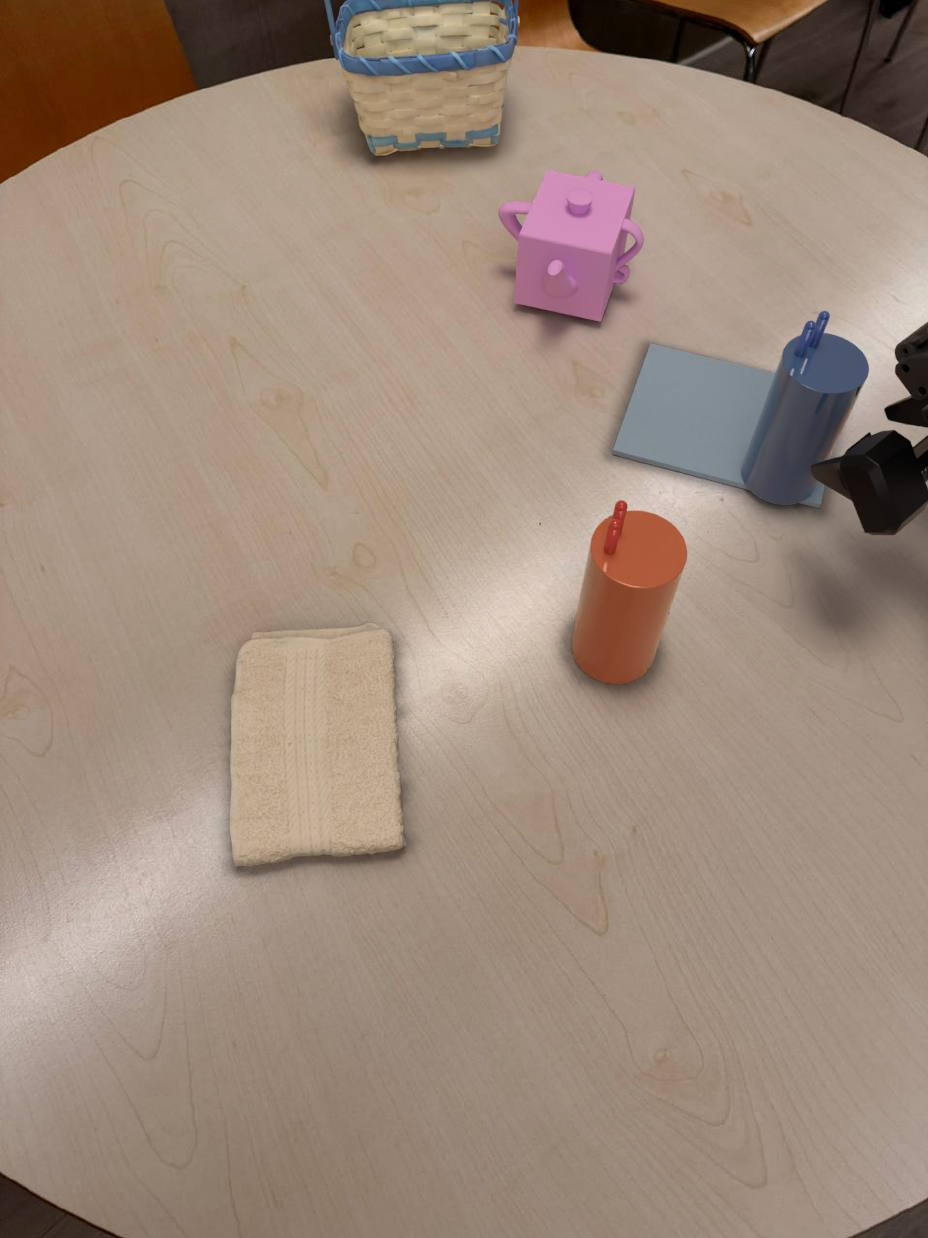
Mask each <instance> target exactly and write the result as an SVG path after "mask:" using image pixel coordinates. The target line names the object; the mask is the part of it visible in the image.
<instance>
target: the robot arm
mask: <svg viewBox="0 0 928 1238" xmlns="http://www.w3.org/2000/svg"><path fill="white" fill-rule="evenodd" d="M894 357H895V360H896V361H897V364H895V366H894V374H895V376H896V377H897V378H898V380H899V381H900V382H901V384H902V385H903V387H904V388H905V389H906V391H907V393H909V394H910V395H909V396H906V397H904V398H902V399H899V400H897V401H895V402H893V403H890V404H887V405H886V406H885V407H884V408H883V411H884V414H885V417H886V419H887V420H888V421H890V422H894V423H899V424H902V425H908V426H913V427H920V428H926V429H928V321H926V322H925V323H924V324H923V325H921V326H919V328H917V329H916V330H915V331H913V332H911V334H909V335H908V336H906V337H905V338H904V339H902V340H901V341H900V342H898V343H897V344H896V346H895V348H894ZM810 470H811V473H812V475H813V477H814V479H815V480H817V481H819V482H821V483H822V484H824V485H825V487H827V488H829V489H831V490H833V491H834V492H836V493H837V494H839V495H841V496H842V497H844V498H846V499H847V500H849V501H850V502H852V504H853V507H854V509H855V512H856V515H857V517H858V520H859V522H860V525H861V527H862V530H863V532H864V533H865V534H867V535H870V536H896V535H897V534H899V532H900V531H901V530H903V529H904V528H905V527H906V526H907V525H908V524H909V523H911V522H912V521H913V520H914V519H916V518H917V517H918V516H919V515H920V514H921V513H922V512H923V511H924V510H925V509H926V508H927V506H928V486H927V485H928V484H927V482H928V434H927V435H925V437H923V438H922V439H921V440H920V441H918V442H917V443H916V444H915V445H914V446H913V445H912V442H911V440H910V439H909V438H907V437H906V436H905V435H903V434H902V433H899V432H898V431H897V430H895V429H889V430H881V431H879V432H876V433H873V434H872V433H871V431H869V432H867V433H866V434H865V435H864V436H862V437H861V438H859V439H858V440H857V441H856V442H854V443H853V444H852V445H851V446H850V447H848V448H847V449H846V450H845V452H844V453H843V455H840V456H836V457H832V458H830V459H828V460H825V461H821V462H818V463H815V464H813V465H812V466H810Z"/></svg>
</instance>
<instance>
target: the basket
mask: <svg viewBox="0 0 928 1238" xmlns="http://www.w3.org/2000/svg"><path fill="white" fill-rule="evenodd" d="M323 1H324V5H325V10H326V16H327V20H328V21H327V22H328V26H329V31H330V35H329V39H330V45H331V46H332V49H333V54H334V60H335V61H339V64H340V68H341V72H342V75H343V77H344V78H345V79H346V85H347V88H348V89H347V90H348V92H349V95H350V97H351V99H352V100H353V105H354V109H355V112H356V114H357V119H358V125H359V128H360V130H361V131H362V133H363V134H364V137H365V140H366V144H367V147H368V149H369V151H370V153H372V154H373V155H374V156H376V157H377V156H388V155H391V154H393V153H396V152H412V151H418V149H431V148H434V149H435V148H442V147H445V148H465V147H466V146H469V147H471V146H472V147H483V148H484V147H494V146H497V145H498V144H499V143H500V138H501V127H502V119H503V109H504V106H505V105H504V102H505V87H506V85H507V83H508V74H509V68H511V66H512V61H513V55H514V53H515V47H516V46H517V44H518V39H519V37H518V35H519V33H518V31H519V30H518V28H520V26H521V19H520V16H519V0H513V1H512V0H346V1H344V2H343V4H342V5H341V6H340V7H339V12H338V15H337V19H336V21H335V19H334V12H333V9H332V4H331V0H323ZM495 2H496V3H495ZM497 2H498V3H499V4H501V5H502V6H503V8H502V9H501V7H500V6H499V4H498V3H497ZM491 13H493V14H491ZM496 27H498V29H497V28H496ZM363 46H364V47H363Z"/></svg>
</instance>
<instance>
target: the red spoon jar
mask: <svg viewBox="0 0 928 1238" xmlns="http://www.w3.org/2000/svg"><path fill="white" fill-rule="evenodd" d="M687 559H688V548H687V544H686V541H685V538H684V536H683V535H682V533H681V532H680V530H679V529H678V528H677V527H676V526H675V525H674V524H673V523H671V521H669V520H668V519H666V518H665V517H663V516H660V515H658V514H656V513H653V512H649V511H645V510H628V503H627V501H626V500H623V499H620V500H618V501H616V502H615V504H614V508H613V514H612V515H610V516H608V517H606V518H604V520H602V521H601V522H600V523H599V524H598V525H597V526H596V528H595V529H594V531H593V533H592V535H591V540H590V544H589V548H588V554H587V559H586V564H585V569H584V574H583V580H582V584H581V589H580V590H581V591H580V596H579V601H578V606H577V611H576V615H575V622H574V626H573V632H572V637H571V644H570V645H571V646H570V647H571V653H572V656H573V659H574V661H575V662H576V664H577V666H578V667H579V668H580V669H581V670H582V672H584V673H585V674H586V675H588V677H590V678H592V679H593V680H596V681H598V682H601V683H605V684H609V685H622V684H623V685H624V684H627V683H628V684H629V683H631V682H634V681H636V680H638V679H640V678H642V677H643V676H644V675H645V674H646V673H647V672H648V671H649V670H650V668H651V666H652V665H653V663H654V660H655V657H656V653H657V651H658V648H659V645H660V642H661V639H662V635H663V633H664V630H665V627H666V624H667V620H668V617H669V615H670V612H671V609H672V606H673V602H674V600H675V596H676V594H677V590H678V587H679V585H680V582H681V579H682V576H683V573H684V570H685V566H686V563H687V561H688V560H687Z"/></svg>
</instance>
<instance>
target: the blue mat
mask: <svg viewBox="0 0 928 1238" xmlns="http://www.w3.org/2000/svg"><path fill="white" fill-rule="evenodd" d="M774 375H775V372H771V371H767V370H763V369H759V368H756V367H755V368H754V367H752V366H751V367H750V366H747V365H743V364H740V363H739V364H738V363H735V362H730V361H726V360H722V359H718V358H713V357H709V356H705V355H701V354H697V353H692V352H689V351H688V352H687V351H685V350H680V349H675V348H671V347H667V346H665V345H664V346H663V345H660V344H655V343H649V346H648V348H647V351H646V354H645V357H644V360H643V362H642V366H641V368H640V371H639V374H638V377H637V379H636V382H635V385H634V387H633V388H634V389H633V391H632V394H631V397H630V401H629V403H628V404H627V405H628V406H627V408H626V411H625V414H624V417H623V420H622V423H621V426H620V428H619V432H618V434H617V437H616V439H615V443H614V446H613V448H612V451H611V455H613V456H617V457H621V458H625V459H628V460H632V461H637V462H641V463H645V464H648V465H652V466H655V467H659V468H663V469H667V470H671V471H675V472H679V473H682V474H686V475H690V476H694V477H698V478H701V479H705V480H709V481H713V482H717V483H719V484H720V483H721V484H725V485H728V486H732V487H735V488H740V489H743V490H747V491H750V490H749V489H748V488H747V486H746V485H745V483H744V482H743V479H742V476H741V466H742V463H743V460H744V457H745V455H746V452H747V449H748V446H749V444H750V441H751V438H752V435H753V433H754V430H755V427H756V424H757V422H758V419H759V416H760V413H761V411H762V408H763V405H764V402H765V400H766V397H767V394H768V391H769V389H770V386H771V383H772V380H773V378H774ZM831 456H832V455H831ZM831 456H830V458H829V459H831ZM825 487H826V485H824V484H822V483H821V482H819V481H818V484H817V486H816V488H815V490H814V492H813V493H812V494H811V495H810V496H809V497H808V498H807V499H805V500H804V501H802V502H799V503H798V504H801V505H804V506H809V507H813V508H816V509H820V508H821V505H822V502H823V496H824V493H825V492H824V491H825Z"/></svg>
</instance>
